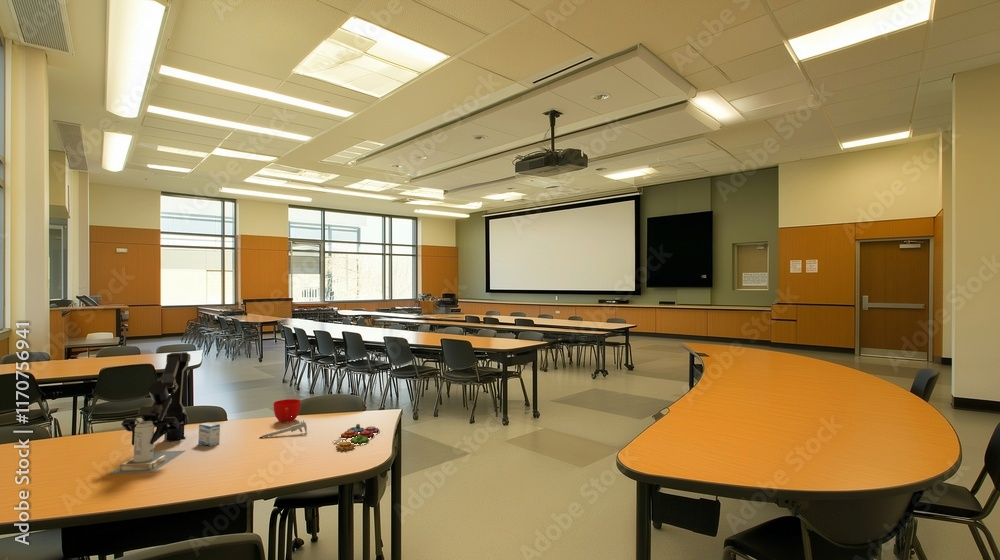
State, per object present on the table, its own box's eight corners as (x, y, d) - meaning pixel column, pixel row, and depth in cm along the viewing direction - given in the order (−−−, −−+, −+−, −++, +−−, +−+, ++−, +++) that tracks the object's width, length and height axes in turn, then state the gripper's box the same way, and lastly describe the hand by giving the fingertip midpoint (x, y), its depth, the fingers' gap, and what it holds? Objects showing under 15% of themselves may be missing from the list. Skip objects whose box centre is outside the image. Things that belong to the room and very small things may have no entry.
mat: (147, 452, 192) (147, 452, 192) (186, 451, 195) (186, 450, 195) (107, 475, 169) (107, 474, 169) (152, 473, 171) (152, 472, 171)
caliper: (306, 432, 221) (306, 419, 221) (306, 433, 220) (306, 420, 220) (258, 438, 213) (258, 424, 213) (258, 439, 212) (258, 425, 212)
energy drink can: (154, 461, 178) (156, 422, 178) (135, 465, 174) (136, 425, 174) (151, 457, 182) (152, 419, 182) (132, 461, 178) (133, 422, 178)
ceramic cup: (272, 427, 228) (272, 407, 229) (273, 419, 244) (274, 400, 244) (300, 425, 234) (300, 405, 234) (300, 416, 249) (300, 398, 249)
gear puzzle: (357, 453, 194) (358, 443, 194) (320, 452, 195) (320, 442, 195) (381, 431, 225) (381, 423, 225) (349, 430, 226) (349, 422, 226)
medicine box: (198, 444, 203) (198, 424, 204) (207, 441, 208) (208, 422, 208) (210, 446, 201) (210, 426, 201) (219, 443, 205) (220, 423, 205)
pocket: (134, 461, 181) (135, 456, 181) (165, 460, 183) (165, 455, 183) (119, 470, 172) (119, 465, 172) (152, 469, 174) (152, 463, 174)
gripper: (124, 397, 181) (104, 435, 170) (176, 396, 184) (160, 433, 173) (137, 412, 188) (118, 449, 177) (186, 411, 191) (171, 447, 180)
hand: (141, 444), depth 177 cm, fingers closed on energy drink can, 6 cm apart
